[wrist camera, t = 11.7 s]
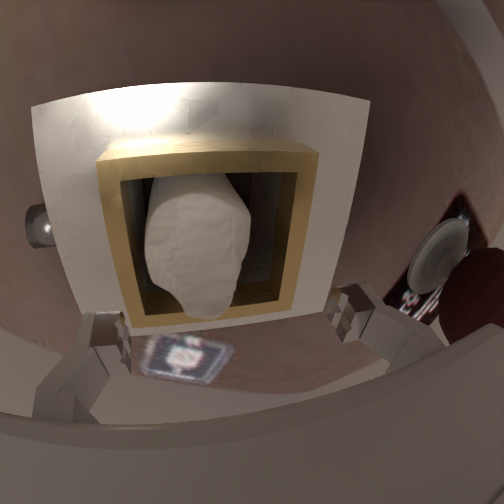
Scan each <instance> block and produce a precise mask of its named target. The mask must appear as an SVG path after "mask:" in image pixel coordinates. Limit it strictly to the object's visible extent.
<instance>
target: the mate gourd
mask: <svg viewBox="0 0 504 504" xmlns="http://www.w3.org/2000/svg"><path fill="white" fill-rule="evenodd" d="M467 242H468V228H467V226H466V224H465V223H464V222H463V221H461V220H460V219H458V218H450V219H447V220H445V221H443V222H441V223H440V224H439V225H437V226H436V227H435V228H434V229H433V230H432V231H431V232H430V233H429V234H428V235H427V236H426V238H425V239H424V240H423V241H422V243H421V244H420V246H419V247H418V249H417V251H416V253H415V254H414V256H413V259H412V261H411V263H410V266H409V270H408V276H407V281H408V285H409V288H410V289H411V290H412V291H413V292H414V293H416V294H425V293H428V292H431V291H433V290H434V289H436V288H437V287H439V286H440V285H441V284H442V283H444V282H445V281H446V280H447V281H446V283H445V285H444V287H443V289H442V291H441V294H440V297H439V301H438V308H439V322H440V326H441V328H442V330H443V333H444V335H445V336H446V338H447V340H448V341H449V344H450V345H451V344H453V343H455V342H456V341H458V340H460V339H462V338H464V337H466V336H467V335H469V334H471V333H473V332H474V331H476V330H478V329H479V328H481V327H483V326H484V325H486V324H489V323H493V324H495V325H498V326H499V327H501V328H503V329H504V251H503V250H501V249H498V248H480V249H476V250H474V251H472V252H471V253H470V254H468V255H467V256H466V257H465V258H464V259H463V260H462V261H461V259H462V257H463V255H464V252H465V249H466V246H467ZM460 261H461V262H460ZM459 262H460V263H459Z"/></svg>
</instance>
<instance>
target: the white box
mask: <svg viewBox="0 0 504 504" xmlns="http://www.w3.org/2000/svg"><path fill="white" fill-rule="evenodd" d="M369 108H370V101H368V100H364V99H360V98H355V97H350V96H345V95H340V94H335V93H329V92H323V91H317V90H310V89H303V88H296V87H287V86H278V85H266V84H252V83H230V82H190V83H168V84H154V85H143V86H134V87H125V88H118V89H111V90H105V91H99V92H93V93H88V94H83V95H78V96H73V97H69V98H64V99H60V100H56V101H52V102H48V103H44V104H41V105H37V106H34V107H31V110H32V124H33V134H34V143H35V151H36V158H37V164H38V170H39V176H40V181H41V186H42V191H43V196H44V201H45V203H42V204H37V205H32V206H30V207H29V209H28V211H27V213H26V218H25V231H26V236H27V239H28V242H29V244H30V245H31V246H32V247H33V248H35V249H37V248H46V247H54V246H57V249H58V252H59V255H60V258H61V261H62V264H63V267H64V270H65V273H66V276H67V278H68V281H69V284H70V287H71V289H72V292H73V294H74V297H75V299H76V302H77V304H78V307H79V309H80V311H81V314H82V316H83V314H84V313H85V312H110V311H122V312H123V314H124V316H125V325H127V326H128V328H129V331H130V335H131V336H140V335H153V334H165V333H176V332H186V331H195V330H204V329H213V328H221V327H229V326H236V325H243V324H250V323H257V322H264V321H270V320H277V319H283V318H289V317H294V316H300V315H306V314H311V313H317V312H322V311H323V309H324V306H325V303H326V299H327V296H328V293H329V289H330V286H331V283H332V279H333V276H334V272H335V269H336V265H337V261H338V258H339V254H340V250H341V246H342V243H343V239H344V235H345V231H346V227H347V222H348V218H349V214H350V210H351V205H352V201H353V196H354V192H355V187H356V182H357V177H358V172H359V167H360V162H361V157H362V151H363V146H364V140H365V134H366V128H367V121H368V115H369ZM244 172H251V187H250V202H249V213H250V216H251V225H250V238H249V244H248V248H247V252H246V255H245V257H244V259H243V261H242V262H241V270H240V273H239V276H238V279H237V283H236V290H235V292H233V298H232V302H231V304H230V306H229V307H228V308H227V309H226V311H225V312H224V313H223V314H222V315H221V316H220V317H218V318H216V319H212V320H205V319H203V318H195V317H191V316H188V315H186V313H185V312H184V310H183V307H182V305H181V304H180V303H179V301H178V300H177V299H176V298H175V297H174V296H173V295H172V294H171V293H170V292H169V291H167V290H165V289H163V288H161V287H159V286H158V285H156V284H154V283H153V282H152V280H151V278H150V275H149V271H148V267H147V263H146V260H145V227H146V212H145V202H144V193H143V182H142V178H153V177H165V176H179V175H194V174H214V173H244Z"/></svg>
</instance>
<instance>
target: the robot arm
mask: <svg viewBox="0 0 504 504" xmlns="http://www.w3.org/2000/svg"><path fill="white" fill-rule="evenodd" d="M331 295H332V297H333V298H332V299H331V300H330V301H329V302H328V305H327V316H328V319H329V321H330V323H331V324H332V325H334V326H336V333H337V335H338V337H339V339H340V340H341V342H342V343H346V342H351V341H355V340H359V339H360V340H359V341H361V342H362V343H363V344H365V345H366V346H368V347H369V348H370V349H372V350H373V351H374V352H376V353H377V354H378V355H380V356H381V357H383V358H384V359H385V360H387V361H388V362H389V363H391V365H390V366H389V367H388V369H387V370H386V373H385V375H382V376H380V377H377V378H374V379H372V380H369V381H366V382H363V383H361V384H358V385H355V386H352V387H349V388H346V389H343V390H340V391H337V392H333V393H330V394H327V395H323V396H320V397H316V398H312V399H309V400H305V401H301V402H297V403H293V404H289V405H285V406H281V407H277V408H272V409H267V410H262V411H257V412H252V413H246V414H241V415H235V416H229V417H222V418H215V419H207V420H199V421H189V422H178V423H163V424H140V425H106V424H100V423H99V422H98V421H97V419H96V418H95V417H94V416H93V415H92V414H91V413H90V412H89V411H90V409H91V408H92V406H93V404H94V403H95V401H96V399H97V398H98V396H99V394H100V393H101V391H102V389H103V388H104V386H105V385H106V383H107V381H108V380H109V378H110V377H109V376H124V375H131V359H130V357H129V353H130V352H131V335H130V331H129V328H128V326H127V325H125V316H124V314H123V312H122V311H110V312H85V313H84V314H83V316H82V319H81V324H80V328H79V333H78V338H77V343H76V347H72V348H71V349H70V350H69V351H68V352H67V353H66V354H65V356H64V357H63V358H62V359H61V360H60V361H59V362H58V364H57V365H56V366H55V367H54V368H53V369H52V370H51V371H50V372H49V374H48V375H47V376H46V377H45V378H44V379H43V381H42V382H41V383H40V384H39V385H38V386H37V388H36V393H35V399H34V406H33V412H32V418H30V417H24V416H18V415H13V414H8V413H4V412H0V504H504V329H503V328H501V327H499V326H498V325H495V324H493V323H489V324H486V325H484V326H483V327H481V328H479V329H478V330H476V331H474V332H473V333H471V334H469V335H467V336H466V337H464V338H462V339H460V340H458V341H456V342H455V343H453V344H451V345H449V346H447V347H446V346H445V345H444V344H443V342H442V341H441V340H440V338H439V337H438V336H437V335H436V333H435V332H434V331H433V329H432V328H431V327H429V326H427V325H425V324H423V323H421V322H419V321H418V320H416V319H414V318H412V317H410V316H408V315H406V314H404V313H402V312H400V311H398V310H397V309H395V308H393V307H391V306H386V305H385V304H384V302H383V301H382V300H381V299H380V297H379V296H378V295H377V293H376V292H375V291H374V290H373V288H372V287H371V286H370V285H369V283H367V282H359V283H355V284H348V285H343V286H337V287H334V288H333V290H332V293H331Z"/></svg>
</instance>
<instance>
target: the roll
mask: <svg viewBox="0 0 504 504" xmlns="http://www.w3.org/2000/svg"><path fill="white" fill-rule="evenodd" d="M250 225H251V216H250V213H249V211H248V209H247V207H246V206H245V204H244V202H243V201H242V199H241V198H240V196H239V195H238V193H237V192H236V191H235V189H234V188H233V186H232V185H231V183H230V181H229V180H228V178H227V176H226V175H225V173H214V174H194V175H179V176H165V177H154V180H153V183H152V188H151V193H150V200H149V207H148V214H147V220H146V227H145V260H146V263H147V267H148V271H149V275H150V278H151V280H152V282H153V283H154V284H156V285H158V286H159V287H161V288H163V289H165V290H167V291H169V292H170V293H171V294H172V295H173V296H174V297H175V298H176V299H177V300H178V301H179V303H180V304H181V305H182V307H183V310H184V312H185V313H186V315H188V316H191V317H195V318H203V319H205V320H212V319H216V318H218V317H220V316H221V315H222V314H223V313H224V312H225V311H226V309H227V308H228V307H229V306H230V304H231V302H232V298H233V292H235V290H236V283H237V279H238V276H239V273H240V270H241V262H242V261H243V259H244V257H245V255H246V252H247V248H248V244H249V238H250Z"/></svg>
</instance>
